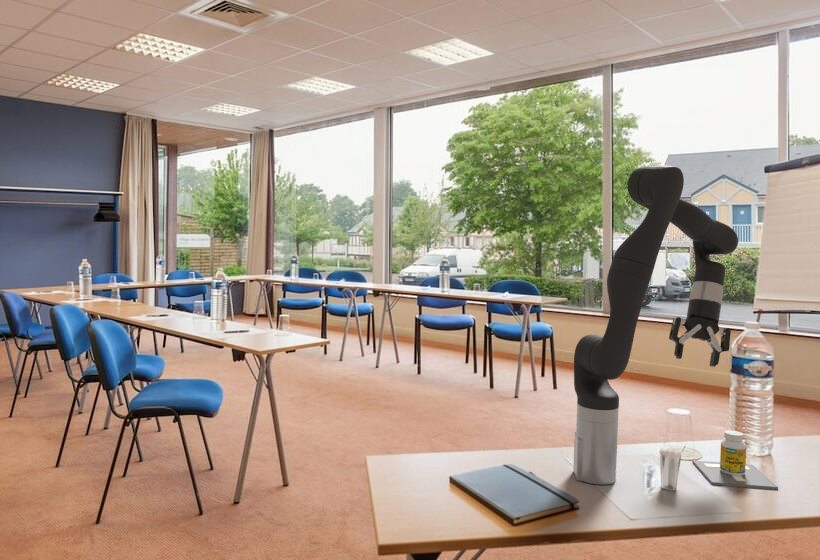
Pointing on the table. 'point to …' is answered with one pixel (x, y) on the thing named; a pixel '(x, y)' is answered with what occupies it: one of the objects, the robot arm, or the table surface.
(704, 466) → the letter board
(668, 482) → the milkshake
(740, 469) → the supplement bottle
